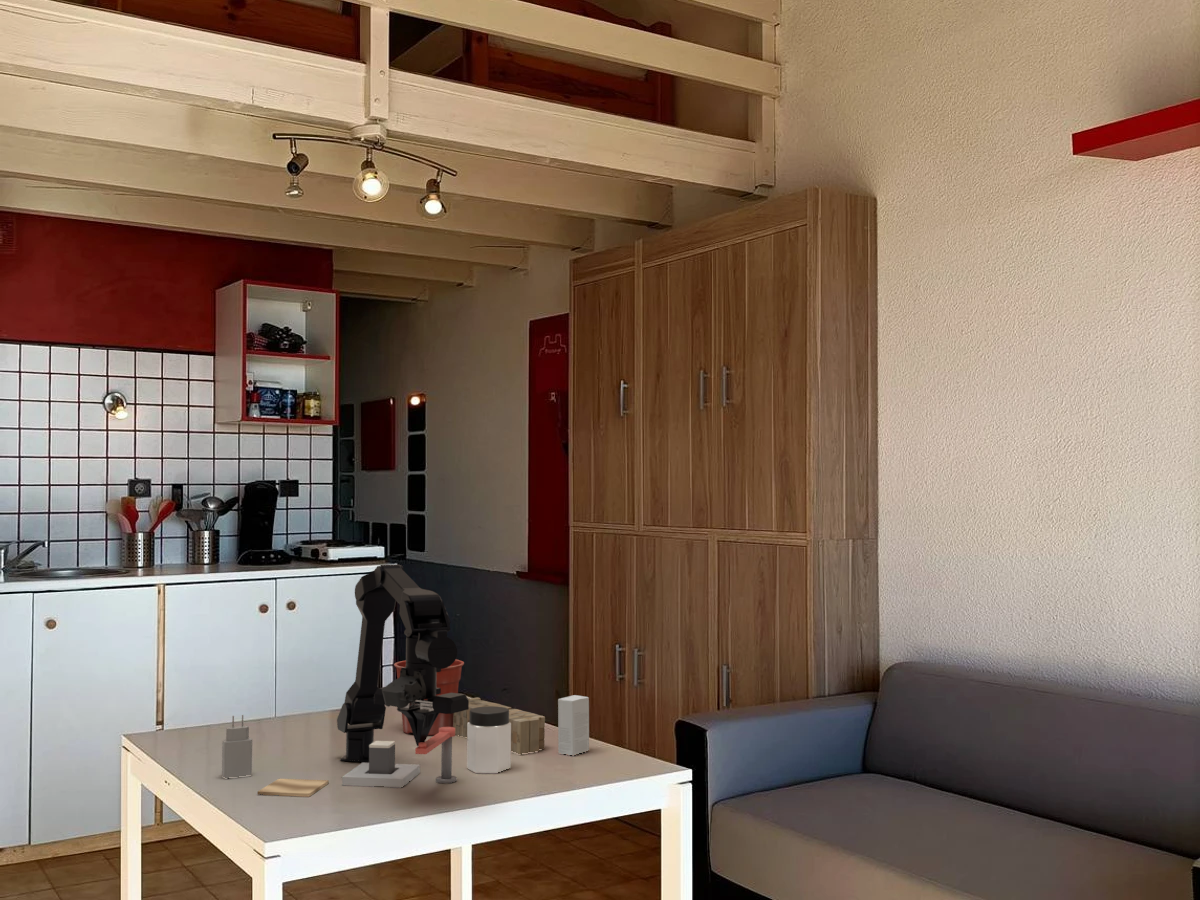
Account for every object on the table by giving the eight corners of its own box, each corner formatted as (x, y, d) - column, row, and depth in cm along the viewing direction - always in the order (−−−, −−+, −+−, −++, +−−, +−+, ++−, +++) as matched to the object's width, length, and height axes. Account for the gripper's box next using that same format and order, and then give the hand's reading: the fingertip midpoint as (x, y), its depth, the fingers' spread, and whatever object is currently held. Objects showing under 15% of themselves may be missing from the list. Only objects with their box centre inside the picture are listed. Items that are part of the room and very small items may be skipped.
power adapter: (220, 776, 224) (222, 715, 224) (248, 773, 227) (249, 712, 227) (224, 779, 221) (225, 717, 222) (252, 776, 224) (253, 715, 225)
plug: (375, 776, 225) (375, 740, 225) (394, 776, 224) (395, 741, 225) (368, 781, 221) (369, 745, 221) (388, 781, 220) (389, 745, 221)
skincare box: (574, 749, 250) (574, 694, 250) (589, 752, 247) (589, 696, 248) (557, 754, 245) (557, 698, 246) (572, 757, 242) (573, 700, 243)
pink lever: (441, 733, 223) (441, 724, 223) (457, 734, 223) (457, 725, 223) (412, 753, 205) (412, 743, 205) (429, 754, 205) (429, 744, 205)
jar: (512, 764, 235) (512, 706, 236) (508, 774, 227) (509, 713, 228) (469, 764, 235) (469, 706, 236) (464, 773, 227) (464, 713, 228)
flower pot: (378, 732, 268) (379, 663, 268) (429, 721, 281) (429, 656, 281) (427, 741, 258) (428, 670, 258) (477, 729, 271) (478, 662, 271)
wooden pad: (279, 781, 220) (279, 778, 220) (328, 783, 219) (328, 780, 219) (257, 794, 210) (257, 791, 210) (309, 796, 209) (309, 793, 209)
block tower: (548, 756, 248) (477, 730, 271) (549, 717, 248) (478, 694, 271) (518, 761, 243) (449, 734, 266) (519, 721, 244) (450, 698, 267)
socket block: (362, 770, 229) (363, 727, 230) (463, 774, 227) (464, 730, 227) (341, 785, 217) (342, 740, 218) (448, 789, 215) (449, 743, 215)
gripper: (353, 662, 209) (352, 747, 209) (431, 671, 199) (430, 761, 199) (394, 655, 219) (393, 736, 218) (471, 663, 209) (469, 749, 208)
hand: (420, 745), depth 210 cm, fingers closed
